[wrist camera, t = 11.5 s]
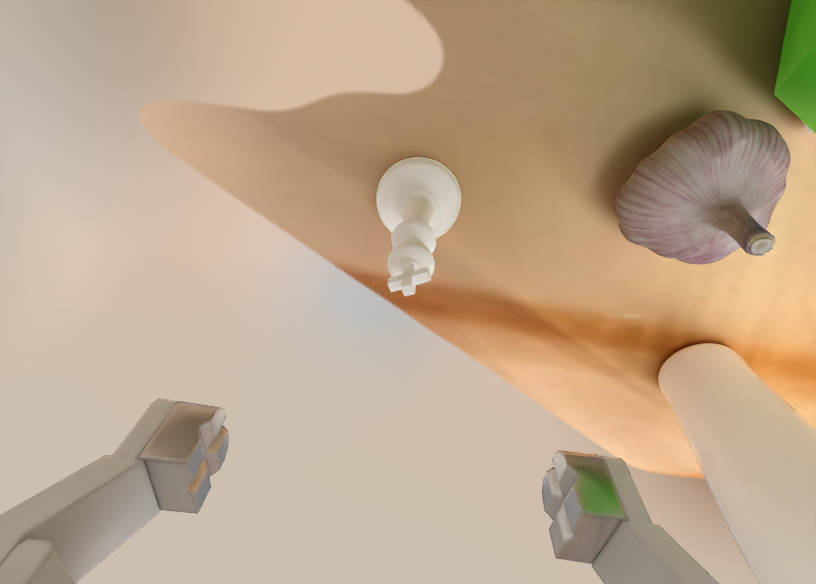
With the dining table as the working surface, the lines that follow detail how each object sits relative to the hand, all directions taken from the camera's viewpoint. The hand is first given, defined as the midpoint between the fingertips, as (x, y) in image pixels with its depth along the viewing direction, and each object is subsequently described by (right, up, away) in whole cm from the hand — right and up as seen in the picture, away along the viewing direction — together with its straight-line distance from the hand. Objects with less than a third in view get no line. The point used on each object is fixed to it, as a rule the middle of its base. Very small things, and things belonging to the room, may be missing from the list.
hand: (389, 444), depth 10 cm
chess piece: (+1, +9, +14) cm, 17 cm away
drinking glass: (+21, -2, +20) cm, 29 cm away
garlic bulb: (+15, +10, +13) cm, 22 cm away
